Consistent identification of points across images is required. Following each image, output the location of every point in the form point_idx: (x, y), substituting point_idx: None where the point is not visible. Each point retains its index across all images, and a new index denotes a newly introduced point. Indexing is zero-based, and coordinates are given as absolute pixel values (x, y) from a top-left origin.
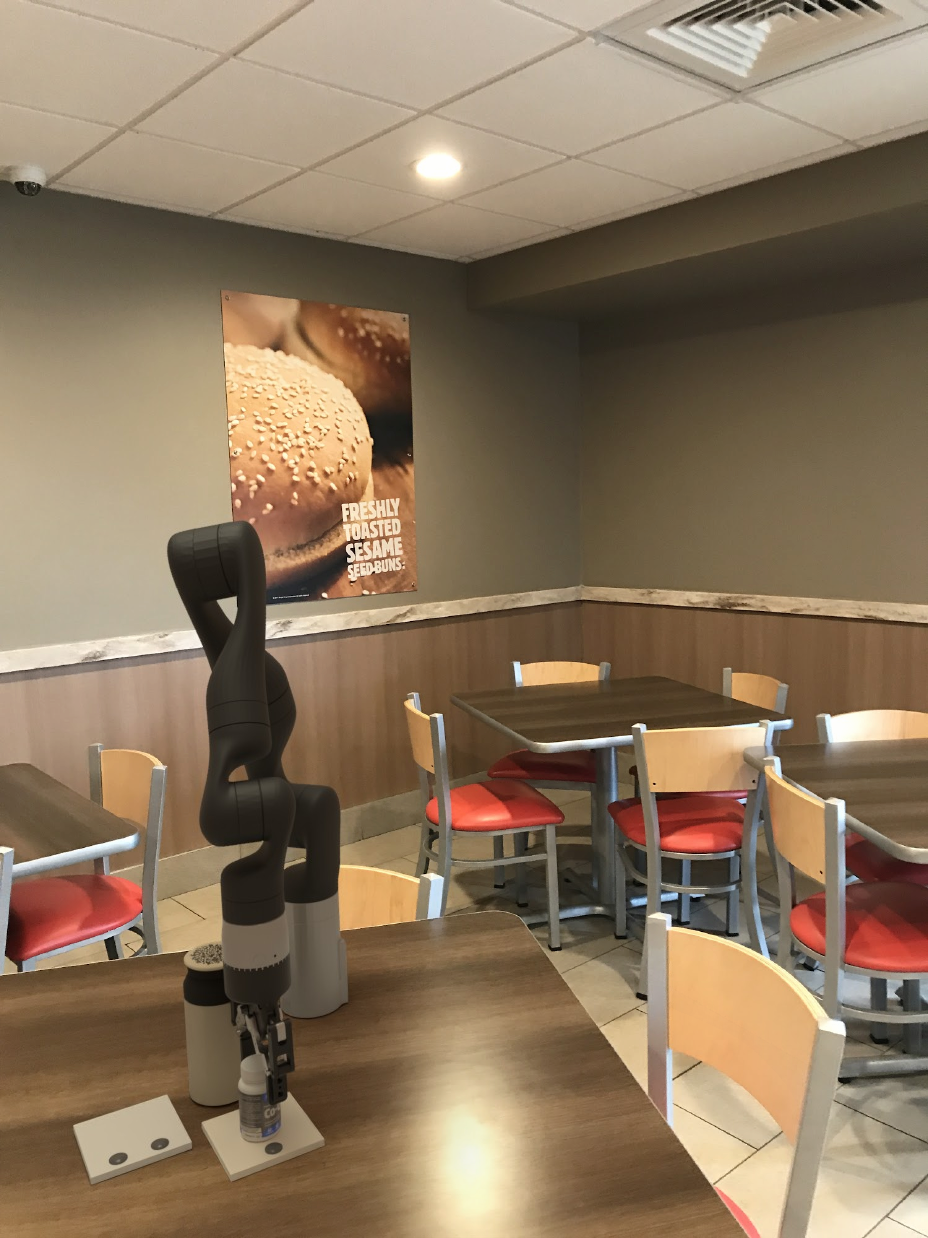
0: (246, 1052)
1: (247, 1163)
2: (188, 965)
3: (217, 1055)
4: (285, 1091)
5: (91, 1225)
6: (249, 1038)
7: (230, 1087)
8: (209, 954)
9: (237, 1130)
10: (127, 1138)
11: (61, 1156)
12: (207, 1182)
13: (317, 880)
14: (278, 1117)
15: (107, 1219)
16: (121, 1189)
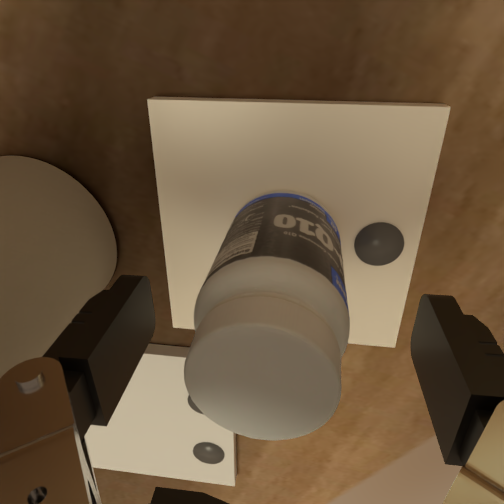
0: (127, 363)
1: (384, 309)
2: None
3: None
4: (495, 343)
5: (329, 496)
6: (95, 398)
7: (95, 264)
8: None
9: None
10: (156, 429)
11: (140, 477)
12: (356, 365)
13: None
14: (330, 229)
15: (332, 482)
16: (274, 453)
